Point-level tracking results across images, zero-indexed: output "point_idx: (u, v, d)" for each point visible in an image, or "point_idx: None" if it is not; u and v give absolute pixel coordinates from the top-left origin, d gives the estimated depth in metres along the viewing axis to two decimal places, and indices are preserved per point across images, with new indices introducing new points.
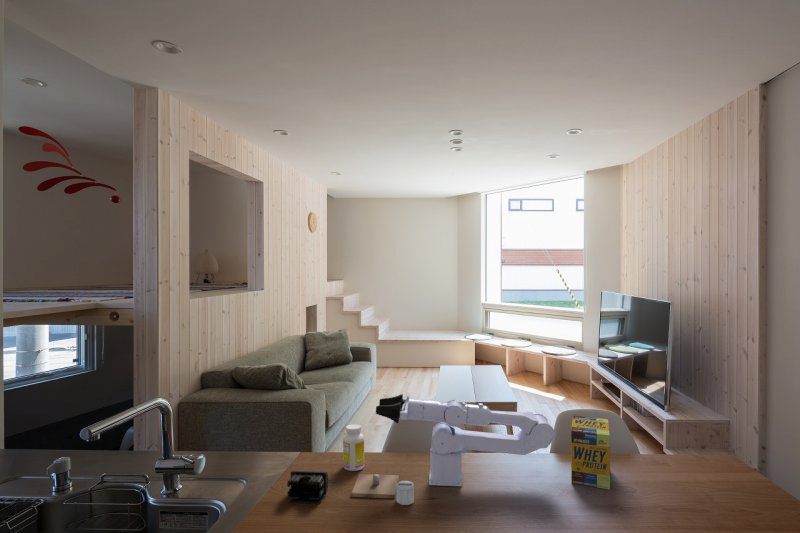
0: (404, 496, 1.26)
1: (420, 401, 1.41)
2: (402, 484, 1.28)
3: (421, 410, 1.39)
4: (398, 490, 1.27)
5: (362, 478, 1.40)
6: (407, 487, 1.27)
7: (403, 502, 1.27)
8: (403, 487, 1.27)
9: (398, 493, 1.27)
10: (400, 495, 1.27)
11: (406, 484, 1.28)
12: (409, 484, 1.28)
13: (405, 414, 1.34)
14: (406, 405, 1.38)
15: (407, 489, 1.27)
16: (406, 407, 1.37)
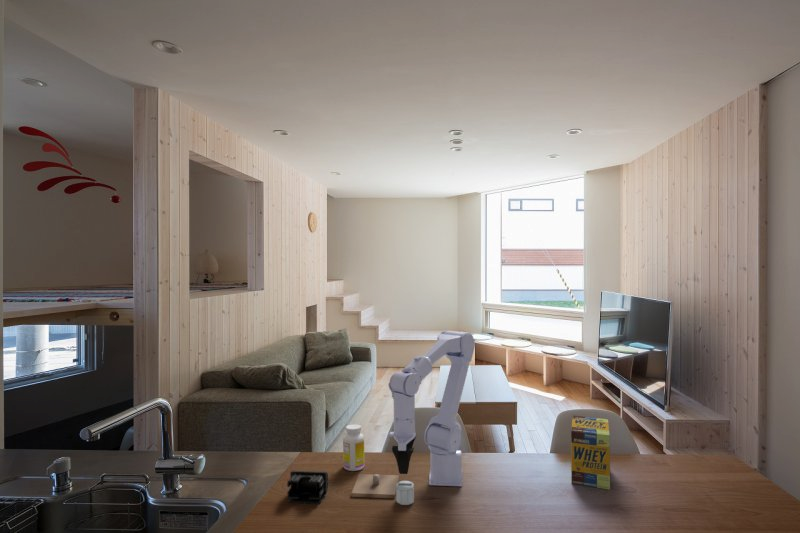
0: (404, 496, 1.26)
1: (394, 421, 1.28)
2: (402, 484, 1.28)
3: (400, 421, 1.26)
4: (398, 490, 1.27)
5: (362, 478, 1.40)
6: (407, 487, 1.27)
7: (403, 502, 1.27)
8: (403, 487, 1.27)
9: (398, 493, 1.27)
10: (400, 495, 1.27)
11: (406, 484, 1.28)
12: (409, 484, 1.28)
13: (400, 444, 1.22)
14: (395, 439, 1.25)
15: (407, 489, 1.27)
16: (396, 440, 1.25)
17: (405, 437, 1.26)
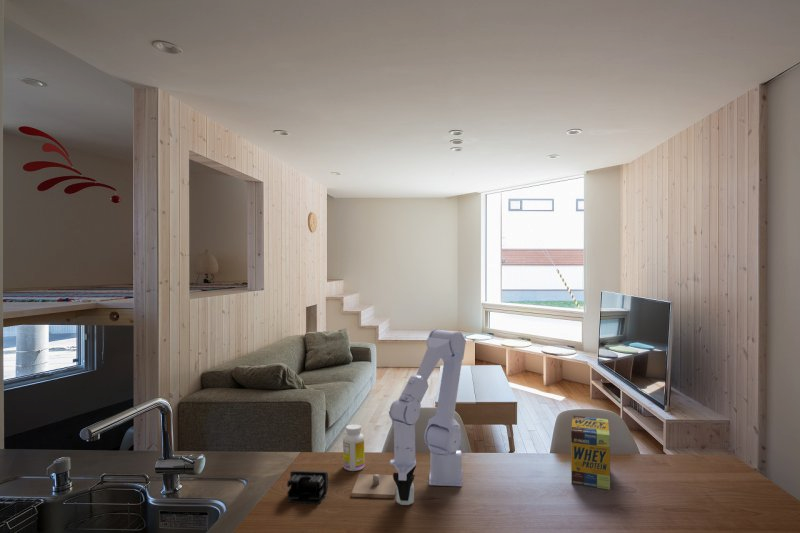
0: None
1: (394, 449, 1.28)
2: None
3: (401, 450, 1.26)
4: None
5: (362, 478, 1.40)
6: None
7: (403, 502, 1.27)
8: None
9: (398, 493, 1.27)
10: None
11: None
12: None
13: (400, 474, 1.22)
14: (396, 468, 1.25)
15: None
16: (397, 469, 1.25)
17: (405, 466, 1.26)
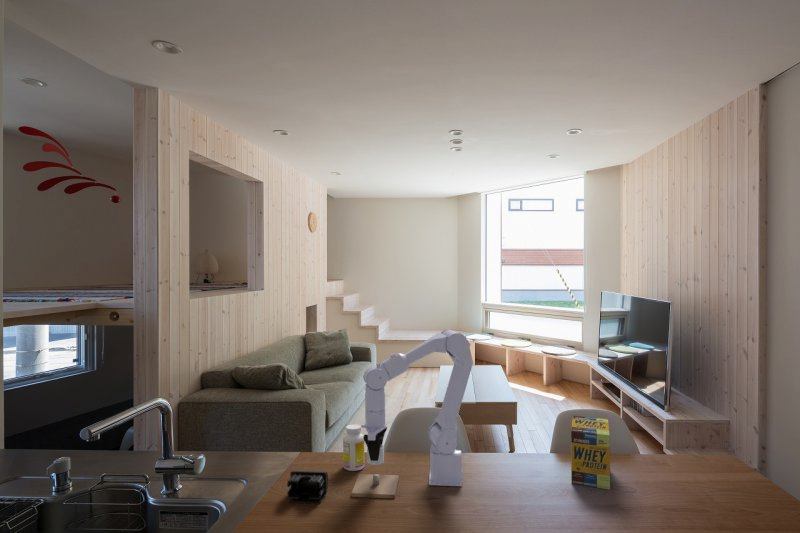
0: None
1: (365, 413, 1.36)
2: None
3: (371, 413, 1.34)
4: (368, 451, 1.35)
5: (362, 478, 1.40)
6: None
7: (373, 462, 1.34)
8: None
9: (368, 454, 1.35)
10: None
11: None
12: None
13: (369, 434, 1.29)
14: (366, 430, 1.33)
15: None
16: (367, 430, 1.32)
17: (375, 428, 1.34)
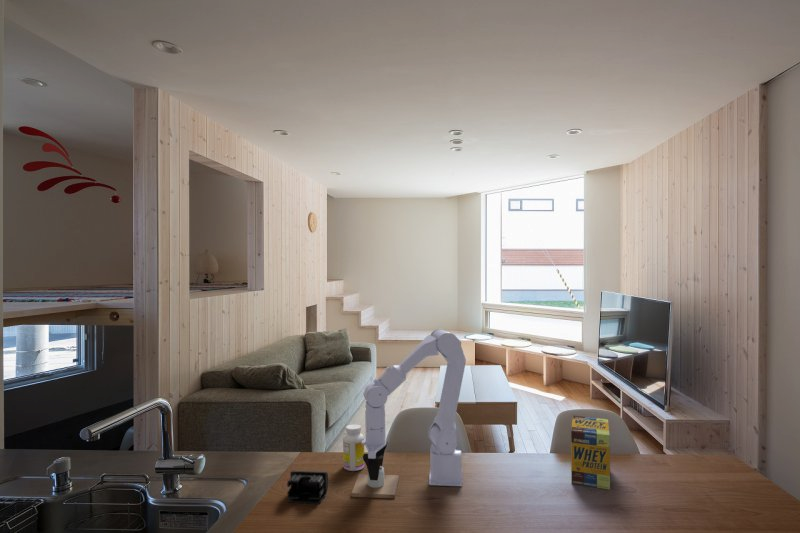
0: None
1: None
2: None
3: (371, 431, 1.34)
4: None
5: (362, 478, 1.40)
6: None
7: (373, 485, 1.34)
8: None
9: None
10: None
11: None
12: None
13: (369, 452, 1.29)
14: (366, 447, 1.33)
15: None
16: (367, 448, 1.32)
17: (375, 445, 1.34)
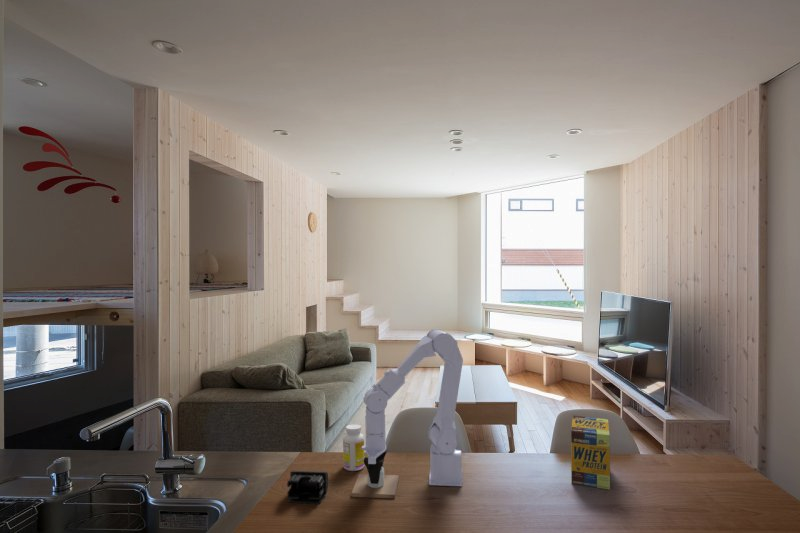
0: None
1: None
2: None
3: (371, 436, 1.34)
4: None
5: (362, 478, 1.40)
6: None
7: (373, 485, 1.34)
8: None
9: None
10: None
11: None
12: None
13: (369, 458, 1.29)
14: None
15: None
16: (367, 454, 1.32)
17: (376, 451, 1.34)
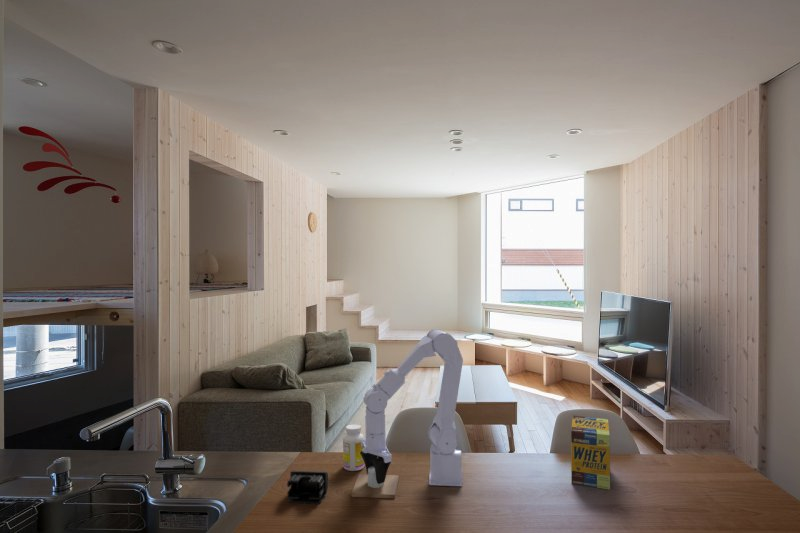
0: None
1: (368, 437, 1.35)
2: None
3: (378, 436, 1.34)
4: None
5: (362, 478, 1.40)
6: None
7: None
8: None
9: None
10: None
11: None
12: None
13: (387, 457, 1.30)
14: (375, 454, 1.33)
15: None
16: (378, 454, 1.32)
17: (382, 450, 1.34)
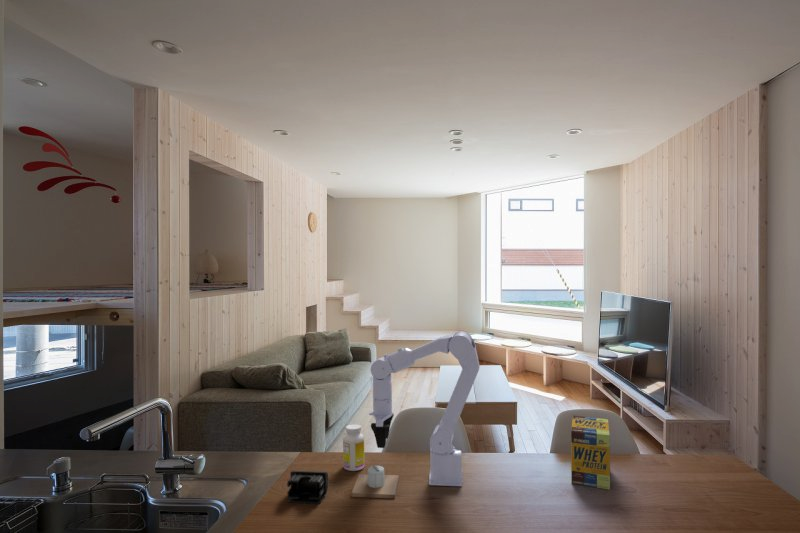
0: None
1: (373, 401, 1.44)
2: (377, 468, 1.36)
3: (378, 401, 1.42)
4: (383, 473, 1.36)
5: (362, 478, 1.40)
6: (379, 467, 1.38)
7: None
8: (381, 468, 1.37)
9: (383, 476, 1.36)
10: (384, 475, 1.36)
11: None
12: None
13: (377, 421, 1.37)
14: (374, 417, 1.41)
15: None
16: (375, 417, 1.40)
17: (383, 415, 1.41)
